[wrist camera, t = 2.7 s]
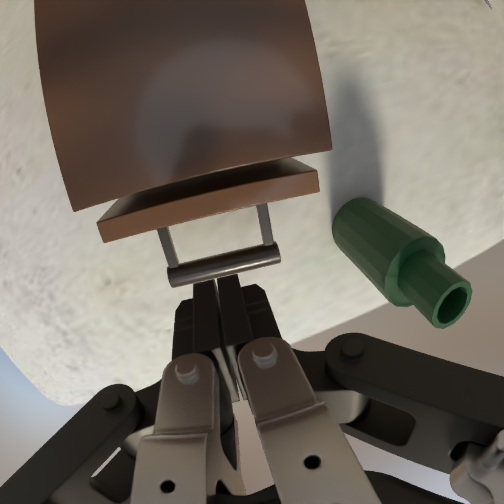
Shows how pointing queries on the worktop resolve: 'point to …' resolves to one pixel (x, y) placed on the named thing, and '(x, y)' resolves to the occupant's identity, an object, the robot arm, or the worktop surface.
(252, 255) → the drawer
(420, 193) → the worktop surface
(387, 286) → the bottle
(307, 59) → the cabinet
